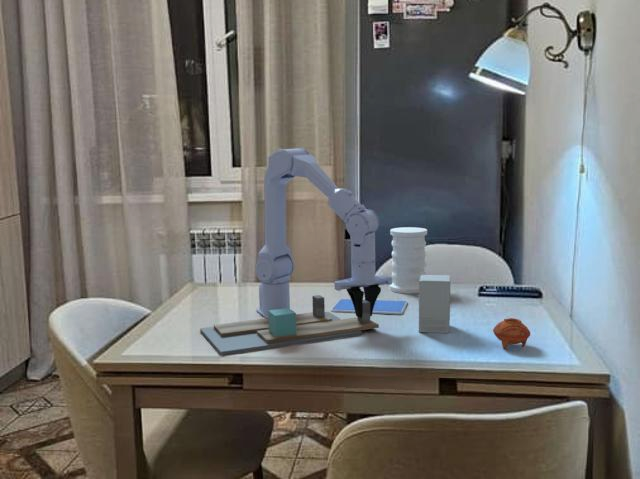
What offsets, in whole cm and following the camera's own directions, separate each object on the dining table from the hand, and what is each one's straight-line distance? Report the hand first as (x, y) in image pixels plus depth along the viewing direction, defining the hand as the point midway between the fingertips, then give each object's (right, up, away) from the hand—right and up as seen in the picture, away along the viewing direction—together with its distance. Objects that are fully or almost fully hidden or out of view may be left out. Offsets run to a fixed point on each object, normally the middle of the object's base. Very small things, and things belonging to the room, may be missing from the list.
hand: (363, 316), depth 170 cm
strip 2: (-11, -4, -4) cm, 12 cm away
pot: (+32, -5, -15) cm, 36 cm away
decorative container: (+16, +4, +40) cm, 43 cm away
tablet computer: (+3, -1, +20) cm, 20 cm away
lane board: (-20, -4, -2) cm, 21 cm away
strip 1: (-22, -3, +2) cm, 22 cm away
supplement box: (+17, -3, -1) cm, 17 cm away
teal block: (-19, -3, -8) cm, 21 cm away
